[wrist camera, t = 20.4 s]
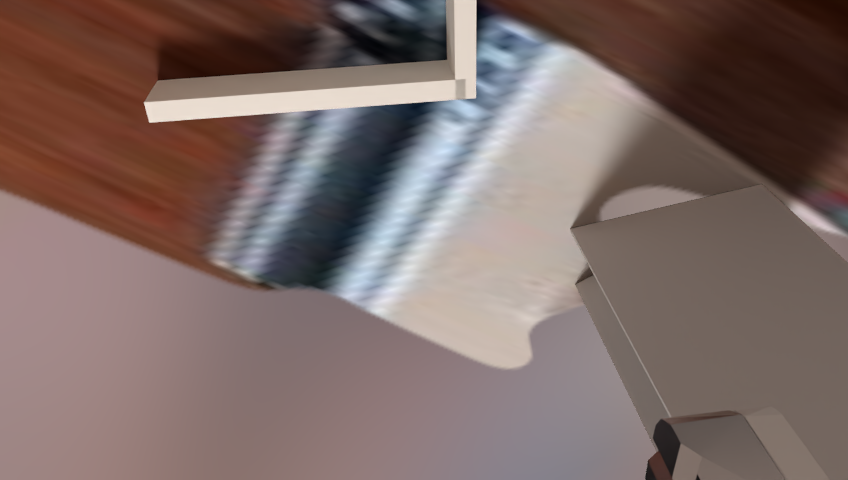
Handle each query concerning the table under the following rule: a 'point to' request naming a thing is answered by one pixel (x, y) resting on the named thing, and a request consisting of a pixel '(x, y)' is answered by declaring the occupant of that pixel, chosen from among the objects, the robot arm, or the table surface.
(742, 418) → the robot arm
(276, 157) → the table surface
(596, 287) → the pale grey flat box
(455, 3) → the frame
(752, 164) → the table surface
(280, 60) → the table surface
